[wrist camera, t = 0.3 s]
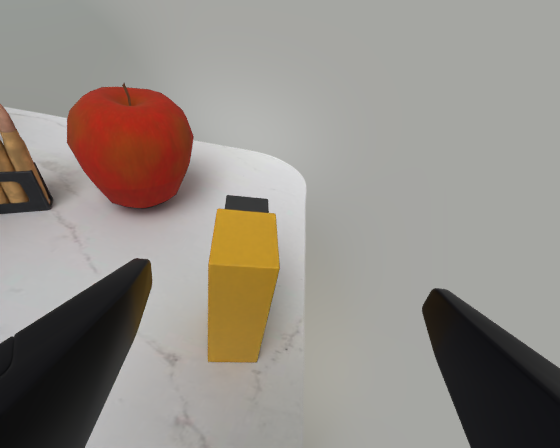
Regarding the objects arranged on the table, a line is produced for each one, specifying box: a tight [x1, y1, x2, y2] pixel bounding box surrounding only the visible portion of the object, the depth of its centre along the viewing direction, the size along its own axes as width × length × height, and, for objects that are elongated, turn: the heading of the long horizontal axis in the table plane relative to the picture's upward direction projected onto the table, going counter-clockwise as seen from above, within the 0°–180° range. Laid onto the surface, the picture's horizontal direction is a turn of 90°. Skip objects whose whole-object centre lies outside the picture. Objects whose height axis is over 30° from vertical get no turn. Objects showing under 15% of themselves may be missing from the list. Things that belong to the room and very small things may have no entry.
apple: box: [67, 84, 193, 208], centre depth 33 cm, size 12×12×14 cm
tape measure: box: [208, 195, 280, 362], centre depth 23 cm, size 7×4×12 cm, turn 3°
